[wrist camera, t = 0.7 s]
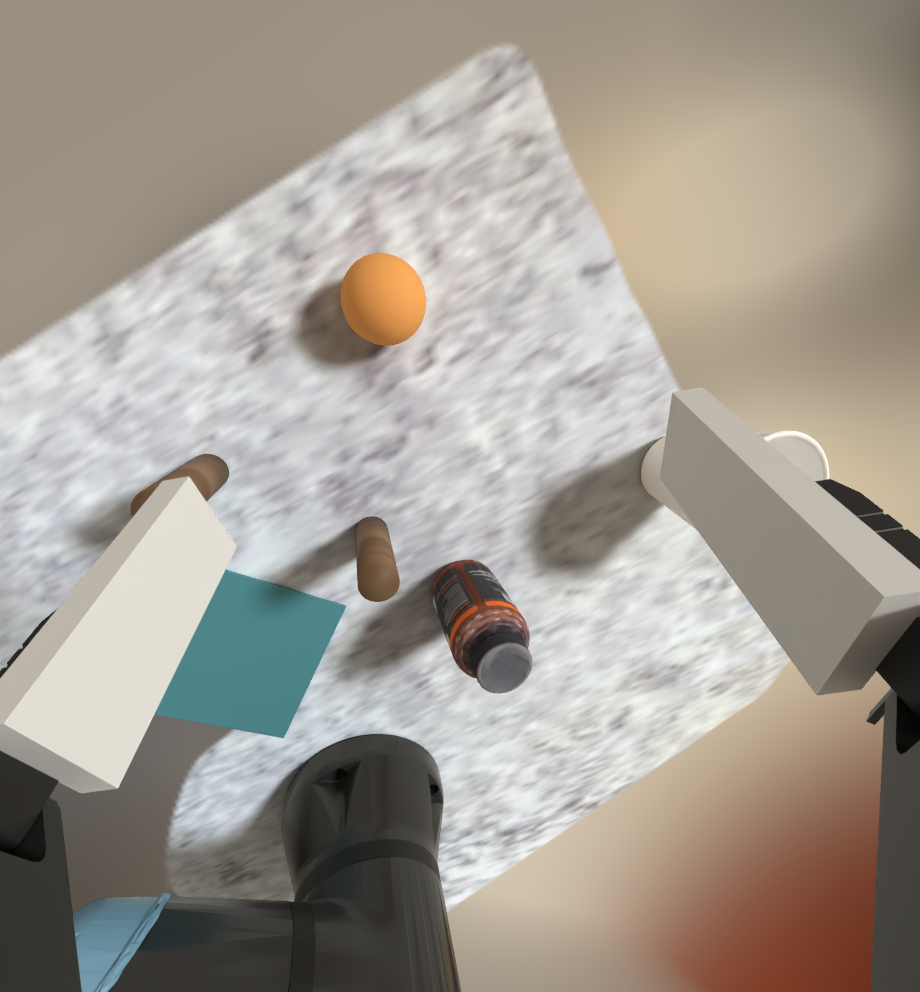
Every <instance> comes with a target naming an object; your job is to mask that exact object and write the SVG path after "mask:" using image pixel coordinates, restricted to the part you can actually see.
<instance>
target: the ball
mask: <svg viewBox="0 0 920 992" xmlns="http://www.w3.org/2000/svg"><path fill="white" fill-rule="evenodd" d="M340 299H341V307H342V310H343V314H344V316H345V318H346V320H347V322H348V324H349V325H350V327H351V328H352V329H353V330H354V331H355V332H356V333H357V334H358V335H359V336H360V337H362V338H363V339H365V340H366V341H369V342H371V343H374V344H377V345H385V346H389V345H395V344H399V343H401V342H404V341H405V340H407V339H408V338H410V337H411V336H412V335H413V334H414V333H415V332H416V331H417V329H418V328H419V326H420V325H421V323H422V320H423V318H424V314H425V309H426V297H425V291H424V287H423V285H422V282H421V280H420V278H419V276H418V275H417V273H416V272H415V271H414V269H413V268H412V267H411V266H410V265H409V264H408V263H406V262H405V261H404V260H402V259H400V258H398V257H396V256H393V255H390V254H384V253H377V254H371V255H367V256H365V257H363V258H361V259H359V260H358V261H356V262H355V263H354V264H353V265H352V266H351V267H350V268H349V270H348V271H347V273H346V275H345V277H344V279H343V282H342V286H341V294H340Z"/></svg>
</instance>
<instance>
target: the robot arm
mask: <svg viewBox="0 0 920 992" xmlns="http://www.w3.org/2000/svg"><path fill="white" fill-rule="evenodd" d="M660 479H661V480H662V482H663V483H664V485H665V486H666V487H667V489H668V490H669V491H670V493H671V494H672V496H673V497H674V498H675V500H676V501H677V503H678V504H679V505H680V507H681V508H682V509H683V511H684V512H685V514H686V515H687V516H688V518H689V519H690V521H691V522H692V523H693V525H694V526H695V527H696V529H697V530H698V532H699V533H700V534H701V536H702V537H703V539H704V540H705V541H706V543H707V544H708V545H709V547H710V548H711V550H712V551H713V552H714V554H715V555H716V557H717V558H718V559H719V561H720V562H721V564H722V565H723V566H724V568H725V569H726V570H727V572H728V573H729V575H730V576H731V577H732V579H733V580H734V582H735V583H736V584H737V586H738V587H739V588H740V590H741V591H742V593H743V594H744V595H745V597H746V598H747V600H748V601H749V602H750V604H751V605H752V606H753V608H754V609H755V611H756V612H757V613H758V615H759V616H760V618H761V619H762V620H763V622H764V623H765V624H766V626H767V627H768V629H769V630H770V631H771V633H772V634H773V636H774V637H775V638H776V640H777V641H778V643H779V644H780V645H781V647H782V648H783V649H784V651H785V652H786V654H787V655H788V656H789V658H790V659H791V661H792V662H793V663H794V665H795V666H796V667H797V669H798V670H799V671H800V673H801V674H802V676H803V677H804V678H805V680H806V681H807V682H808V684H809V685H810V687H811V688H812V690H813V691H814V692H815V694H816V695H822V694H830V693H838V692H845V691H853V690H859V689H862V688H863V687H864V686H865V684H866V683H867V682H868V681H869V679H870V678H871V677H872V676H873V674H874V673H875V672H876V671H877V672H878V673H879V674H880V675H881V676H882V677H883V679H884V680H885V681H886V682H887V683H888V684H889V685H890V687H891V689H890V690H889V691H888V692H887V694H886V695H885V696H884V697H883V698H882V699H881V700H880V701H879V703H878V704H877V705H876V706H875V707H874V708H873V709H872V710H871V712H870V714H869V716H868V719H867V722H869V723H872V724H874V725H875V724H876V723H877V722H878V721H879V720H880V718H881V717H882V716H883V715H884V732H883V753H882V772H881V792H880V814H879V833H878V854H877V874H876V895H875V916H874V936H873V955H872V975H871V976H872V977H871V992H920V539H919V538H918V537H917V536H915V535H914V534H913V533H911V532H910V531H909V530H904V529H903V528H902V525H901V524H900V523H898V522H897V521H896V520H895V519H893V518H892V517H891V516H890V515H888V514H886V515H884V514H883V510H882V509H880V508H879V507H878V506H877V505H875V504H874V503H873V502H872V501H870V500H869V499H868V498H866V497H865V496H864V495H862V494H861V493H860V492H857V491H855V490H853V489H851V488H849V487H847V486H844V485H842V484H840V483H837V482H836V481H833V480H831V479H827V480H821V481H814V480H812V479H811V478H810V477H809V476H808V475H806V474H805V473H804V472H803V471H802V470H800V469H799V468H798V467H797V466H796V465H794V464H793V463H792V462H791V461H790V460H789V459H787V458H786V457H785V456H784V455H783V454H781V453H780V452H779V451H778V450H777V449H775V448H774V447H773V446H772V445H771V444H769V443H768V442H767V441H766V440H765V439H764V438H762V437H761V436H760V435H759V434H758V433H756V432H755V431H754V430H753V429H752V428H750V427H749V426H748V425H747V424H746V423H744V422H743V421H742V420H741V419H740V418H738V417H737V416H736V415H735V414H734V413H733V412H731V411H730V410H729V409H727V408H726V407H725V406H724V405H723V404H722V403H721V402H719V401H718V400H717V399H716V398H715V397H713V396H712V395H711V394H710V393H709V392H708V391H706V390H705V389H704V388H697V389H691V390H685V391H679V392H673V393H672V399H671V406H670V413H669V419H668V426H667V433H666V439H665V446H664V453H663V459H662V466H661V473H660ZM236 547H237V546H236V545H235V543H234V542H233V540H232V539H231V537H230V536H229V535H228V533H227V532H226V530H225V529H224V527H223V526H222V524H221V523H220V521H219V520H218V518H217V517H216V515H215V514H214V512H213V511H212V509H211V508H210V506H209V505H208V503H207V502H206V501H205V499H204V498H203V496H202V495H201V493H200V492H199V490H198V489H197V487H196V486H195V484H194V483H193V481H192V480H191V478H190V477H189V476H188V477H182V478H176V479H170V480H165V481H162V482H161V483H160V485H159V486H158V487H157V488H156V490H155V491H154V492H153V493H152V494H151V496H150V497H149V498H148V499H147V501H146V502H145V503H144V504H143V505H142V507H141V508H140V509H139V510H138V511H137V513H136V514H135V515H134V516H133V518H132V519H131V520H130V521H129V522H128V524H127V525H126V526H125V527H124V529H123V530H122V531H121V532H120V533H119V535H118V536H117V537H116V538H115V539H114V541H113V542H112V543H111V544H110V546H109V547H108V548H107V549H106V550H105V552H104V553H103V554H102V555H101V557H100V558H99V559H98V560H97V561H96V563H95V564H94V565H93V566H92V567H91V569H90V570H89V571H88V572H87V574H86V575H85V576H84V577H83V578H82V580H81V581H80V582H79V583H78V585H77V586H76V587H75V588H74V589H73V591H72V592H71V593H70V594H69V595H68V597H67V598H66V599H65V600H64V602H63V603H62V604H61V605H60V606H59V608H58V609H56V610H55V611H54V612H53V613H52V614H50V615H49V616H48V617H47V618H46V619H44V620H43V621H42V622H41V623H40V624H39V625H38V626H37V628H36V629H35V630H34V631H33V632H32V634H31V635H30V636H29V637H28V638H27V640H26V641H25V642H24V643H23V644H22V645H23V648H22V649H18V651H17V652H16V653H15V654H14V655H13V657H12V658H11V659H10V660H9V661H8V663H7V664H8V666H7V667H6V668H3V669H2V670H1V671H0V992H461V988H460V982H459V977H458V971H457V966H456V961H455V955H454V950H453V945H452V939H451V934H450V929H449V924H448V918H447V912H446V907H445V902H444V896H443V891H442V885H441V880H440V875H439V869H438V862H437V859H438V850H439V840H440V831H441V822H442V812H443V802H444V801H443V788H442V784H441V779H440V775H439V770H438V767H437V764H436V762H435V760H434V759H433V757H432V756H431V755H430V753H429V752H428V751H427V750H425V749H424V748H423V747H422V746H420V745H419V744H417V743H415V742H413V741H411V740H409V739H406V738H403V737H399V736H393V735H381V734H378V735H366V736H360V737H355V738H351V739H348V740H345V741H342V742H339V743H337V744H335V745H333V746H331V747H329V748H327V749H325V750H323V751H322V752H320V753H319V754H317V755H316V756H314V757H313V758H312V759H311V760H309V761H308V762H307V763H306V764H305V765H304V766H303V767H302V768H301V769H300V771H299V772H298V773H297V774H296V776H295V777H294V779H293V780H292V782H291V784H290V786H289V788H288V791H287V794H286V797H285V803H284V810H283V817H282V838H283V843H284V848H285V853H286V858H287V863H288V867H289V872H290V877H291V882H292V886H293V891H294V902H288V901H271V900H247V899H223V898H199V897H175V896H171V894H169V893H162V894H160V895H159V896H157V897H109V898H102V899H99V900H96V901H93V902H91V903H89V904H87V905H86V906H85V907H83V908H81V909H80V910H78V911H77V912H76V913H75V914H74V915H73V914H72V904H71V896H70V887H69V879H68V871H67V862H66V853H65V845H64V836H63V828H62V819H61V811H60V807H59V805H58V803H57V801H55V800H53V799H51V798H49V796H50V795H51V793H52V791H53V790H54V788H55V786H56V785H57V783H58V782H60V783H62V784H64V785H66V786H67V787H69V788H71V789H73V790H75V791H77V792H79V793H87V792H94V791H102V790H109V789H117V788H118V787H119V785H120V783H121V781H122V779H123V777H124V775H125V773H126V771H127V768H128V767H129V765H130V763H131V761H132V759H133V757H134V754H135V752H136V750H137V748H138V746H139V744H140V742H141V740H142V738H143V736H144V734H145V732H146V730H147V728H148V726H149V724H150V722H151V720H152V718H153V716H154V714H155V712H156V710H157V708H158V706H159V704H160V702H161V700H162V698H163V696H164V694H165V692H166V690H167V687H168V685H169V683H170V681H171V679H172V677H173V675H174V673H175V671H176V669H177V667H178V665H179V663H180V661H181V659H182V657H183V655H184V653H185V651H186V649H187V647H188V645H189V643H190V641H191V639H192V637H193V635H194V633H195V631H196V629H197V627H198V624H199V622H200V620H201V618H202V616H203V614H204V612H205V610H206V608H207V606H208V604H209V602H210V600H211V598H212V596H213V594H214V592H215V590H216V588H217V586H218V584H219V582H220V580H221V578H222V576H223V574H224V572H225V570H226V568H227V566H228V564H229V561H230V559H231V557H232V555H233V553H234V551H235V549H236Z"/></svg>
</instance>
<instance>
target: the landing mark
mask: <svg viewBox="0 0 920 992" xmlns="http://www.w3.org/2000/svg"><path fill="white" fill-rule="evenodd" d="M345 608H346V606H345V605H342V604H338V603H335V602H332V601H328V600H325V599H322V598H318V597H315V596H312V595H308V594H305V593H302V592H298V591H295V590H292V589H288V588H285V587H282V586H278V585H275V584H272V583H268V582H265V581H262V580H258V579H255V578H252V577H248V576H245V575H242V574H238V573H235V572H232V571H228V570H225V572H224V574H223V576H222V578H221V580H220V582H219V584H218V586H217V588H216V590H215V592H214V594H213V596H212V598H211V600H210V602H209V604H208V606H207V608H206V610H205V612H204V614H203V616H202V618H201V620H200V622H199V624H198V627H197V629H196V631H195V633H194V635H193V637H192V639H191V641H190V643H189V645H188V647H187V649H186V651H185V653H184V655H183V657H182V659H181V661H180V663H179V665H178V667H177V669H176V671H175V673H174V675H173V677H172V679H171V681H170V683H169V685H168V687H167V690H166V692H165V694H164V696H163V698H162V700H161V702H160V704H159V706H158V708H157V710H156V712H155V714H156V715H161V716H166V717H172V718H177V719H182V720H188V721H193V722H199V723H204V724H210V725H215V726H221V727H226V728H231V729H237V730H242V731H248V732H253V733H259V734H264V735H270V736H275V737H281V738H284V736H285V734H286V732H287V730H288V728H289V726H290V724H291V722H292V719H293V717H294V715H295V713H296V711H297V709H298V707H299V705H300V703H301V700H302V698H303V696H304V694H305V692H306V690H307V688H308V686H309V684H310V681H311V679H312V677H313V675H314V673H315V671H316V669H317V667H318V665H319V662H320V660H321V658H322V656H323V654H324V652H325V650H326V648H327V646H328V643H329V641H330V639H331V637H332V635H333V633H334V631H335V629H336V627H337V624H338V622H339V620H340V618H341V616H342V614H343V612H344V610H345Z"/></svg>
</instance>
